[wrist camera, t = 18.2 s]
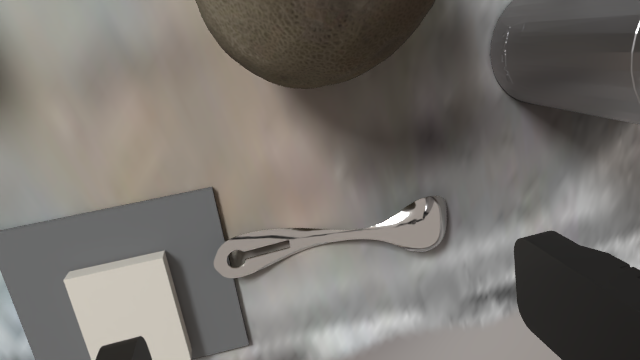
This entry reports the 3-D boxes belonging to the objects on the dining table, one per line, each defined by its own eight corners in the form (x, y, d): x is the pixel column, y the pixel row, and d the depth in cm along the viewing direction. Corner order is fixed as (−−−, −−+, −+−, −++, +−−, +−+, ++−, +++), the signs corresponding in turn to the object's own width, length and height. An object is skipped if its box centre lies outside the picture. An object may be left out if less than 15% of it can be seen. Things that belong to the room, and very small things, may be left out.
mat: (212, 186, 38) (211, 188, 37) (248, 341, 42) (248, 345, 41) (-11, 232, 35) (-14, 235, 35) (51, 391, 39) (49, 395, 39)
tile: (162, 258, 36) (190, 360, 39) (164, 249, 38) (192, 348, 40) (63, 280, 35) (99, 383, 38) (69, 270, 37) (104, 370, 39)
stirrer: (220, 305, 36) (208, 247, 35) (217, 283, 39) (206, 229, 38) (464, 249, 40) (462, 195, 39) (442, 233, 43) (440, 183, 42)
